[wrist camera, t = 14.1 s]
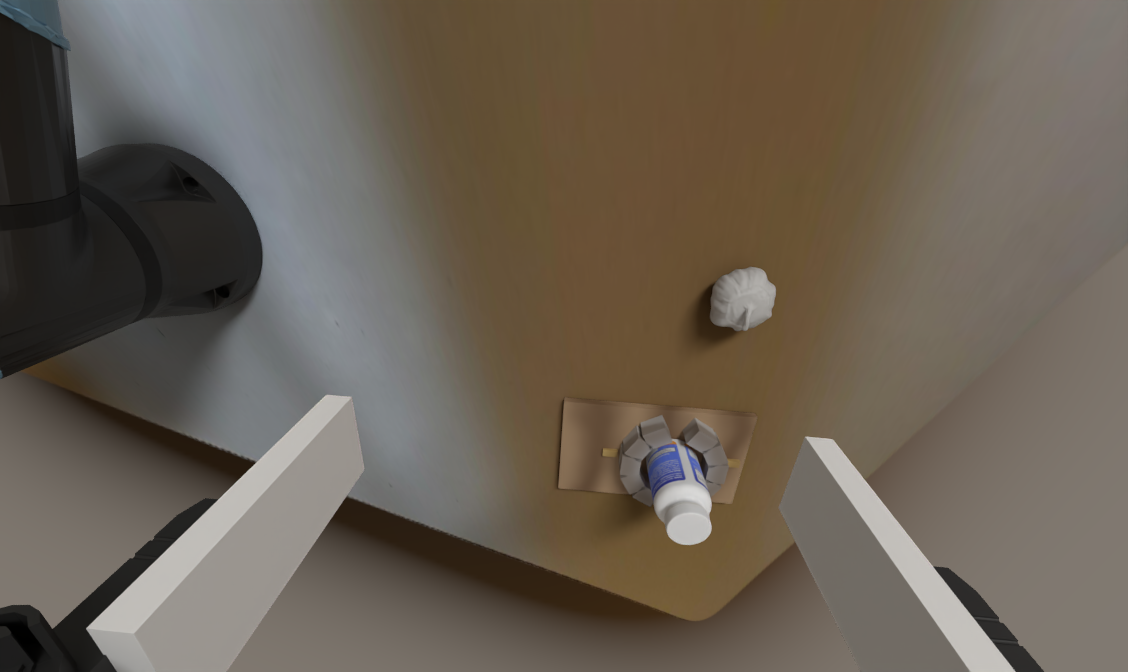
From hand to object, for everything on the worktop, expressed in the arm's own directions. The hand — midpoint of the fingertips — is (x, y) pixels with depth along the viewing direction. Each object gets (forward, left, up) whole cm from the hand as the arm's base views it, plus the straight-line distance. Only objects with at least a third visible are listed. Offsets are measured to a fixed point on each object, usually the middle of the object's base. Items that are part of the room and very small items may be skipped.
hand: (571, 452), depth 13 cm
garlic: (+14, -4, -29) cm, 32 cm away
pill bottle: (+11, -23, -28) cm, 38 cm away
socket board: (+9, -23, -29) cm, 38 cm away
